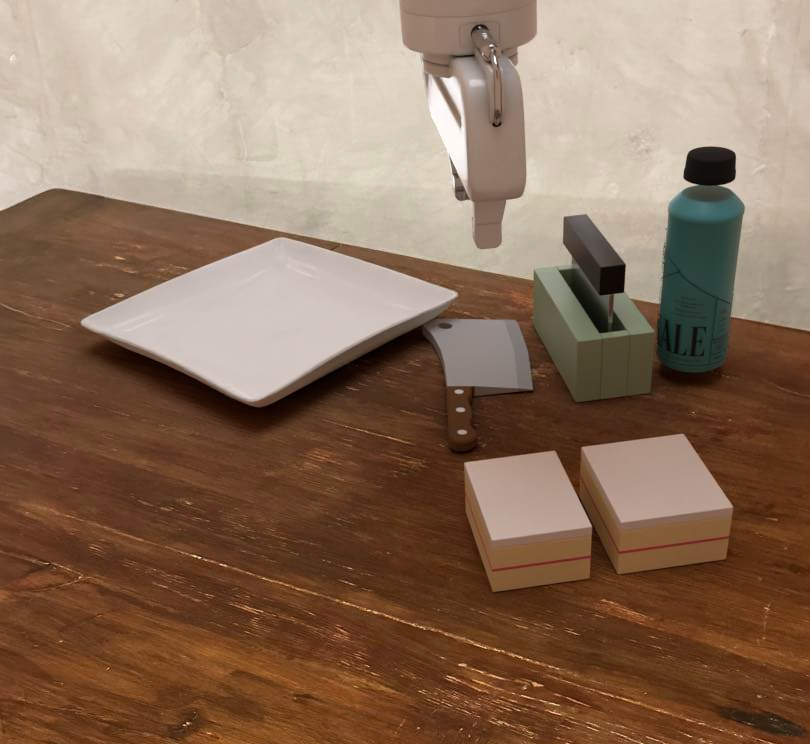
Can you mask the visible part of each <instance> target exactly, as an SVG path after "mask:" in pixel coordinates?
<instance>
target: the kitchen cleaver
mask: <svg viewBox="0 0 810 744" xmlns="http://www.w3.org/2000/svg"><path fill="white" fill-rule="evenodd" d="M421 334H422V335H423V337H424V338H426V340H428V341H429V343H430V344H431V345H432V346H433V348H434V350H435V352H436V354H437V356H438V357H439V359H440V363H441V367H442V370H443V374H444V382H445V389H446V390H445V399H446V417H447V433H448V434H447V435H448V446H449V447H450V448H451V450H453V451H455V452H467V451H470V450H472V449H473V448H475V447H476V446H477V445H478V431H476V430H475V429H474V428H473V427H472V426H473V410H472V408H473V407H472V406H471V403H472V402H473V398H474V397H479V396H480V397H481V396H489V395H498V394H507V393H516V392H529V391H534V385H533V379H532V371H531V370H532V369H531V363H530V356H529V350H528V346H527V344H526V341H525V339H524V335H523V333H522V330H521V328H520V324H519V322H517V320H516V319H491V318H490V319H488V318H487V319H481V318H480V319H479V318H478V319H477V318H476V319H475V318H433V319H431V320H430V321H428V322H426V323H424V324H422V325H421Z"/></svg>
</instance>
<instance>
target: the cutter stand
mask: <svg viewBox="0 0 810 744" xmlns="http://www.w3.org/2000/svg"><path fill="white" fill-rule="evenodd" d="M571 267H572V263H571V264H564V265H557V266H547V267H538V268H534V269H533V297H532V298H533V300H532V305H533V307H532V309H533V310H532V314H533V315H532V320H533V321H532V323H533V324H532V326H533V328H534V329H535V331H536V333H537V335H538V337H539V339H540V340H541V342H542V344H543V345H544V347H545V349H546V351H547V353H548V355H549V357H550V359H551V360H552V363H553V364H554V366H555V367H556V369H557V371H558V373H559V375H560V376H561V378H562V380H563V382H564V384H565V385H566V387H567V389H568V391H569V393H570V394H571V396H572V398H573V400H574V402H575V403H582V402H592V401H597V400H598V401H600V400H608V399H614V398H615V399H616V398H623V397H631V396H638V395H646V394H651V387H652V377H653V364H654V363H653V361H654V350H655V340H656V331H655V330H654V328H653V327H652V326H651V324H650V323H649V321H648V320H647V319H646V318H645V316H644V315H643V313H642V312H641V311H640V309H639V308H638V307H637V305H636V304H635V303H634V301H633V300H632V299H631V298H630V296H629V295H628V293H627V292H626V291H625V290H624V293H618V294H614V304H613V322H612V332H607V333H600V334H599V332H598V331H597V329H596V328H595V326H594V324H593V323H592V321H591V320H590V318H589V317H588V315H587V314H586V312H585V311H584V309H583V308H582V306H581V305H580V303H579V301H578V300H577V298H576V297H575V295H574V294H573V292H572V291H571Z"/></svg>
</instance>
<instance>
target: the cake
mask: <svg viewBox="0 0 810 744" xmlns="http://www.w3.org/2000/svg"><path fill="white" fill-rule="evenodd" d="M579 471H580V472H579V473H580V474H579V496H578V498H580V499H579V500H581V501H580V502H581V504H582V506H583V508H584V510H585V512H586V514H587V516H588V518H589V520H590V522H591V524H592V526H593V527H594V529H595V531H596V533H597V536H598V537H599V539H600V541H601V544H602V546H603V548H604V550H605V552H606V554H607V556H608V558H609V560H610V562H611V564H612V566H613V568H614V570H615V572H616V574H617V575H624V574H632V573H638V572H639V573H640V572H647V571H653V570H659V569H667V568H674V567H681V566H688V565H696V564H702V563H709V562H716V561H724V560H726V559H727V554H728V547H729V541H730V539H731V535H730V533H731V526H732V519H733V512H734V506H733V504H732V503H731V501H730V500H729V499H728V497H727V495H726V494H725V493H724V491H723V490H722V488H721V487H720V485H719V484H718V482H717V481H716V479H715V478H714V476H713V475H712V473H711V472H710V470H709V469H708V467H707V466H706V464H705V463H704V462H703V460H702V459H701V457H700V456H699V454H698V453H697V452H696V450H695V449H694V447H693V445H692V443H691V442H690V441H689V440H688V438H687V436H686V435H685V434H684V433H678V434H670V435H663V436H655V437H648V438H646V437H645V438H640V439H639V438H638V439H632V440H625V441H616V442H610V443H603V444H601V443H600V444H593V445H586V446H581V449H580V470H579Z"/></svg>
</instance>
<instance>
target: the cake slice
mask: <svg viewBox="0 0 810 744" xmlns="http://www.w3.org/2000/svg"><path fill="white" fill-rule="evenodd" d="M463 466H464V467H463V468H464V469H463V471H464V499H465V501H464V503H465V514H466V516H467V520H468V523H469V525H470V529H471V531H472V535H473V537H474V541H475V544H476V546H477V549H478V552H479V557H480V559H481V562H482V565H483V566H484V570H485V573H486V576H487V580H488V582H489V585H490V588H491V591H492V592H493V593H497V592H504V591H512V590H519V589H526V588H532V587H539V586H540V587H541V586H546V585H548V586H549V585H554V584H562V583H567V582H573V581H581V580H589V579H590V577H591V559H592V540H593V539H592V538H593V536H592V535H593V524H592V522H591V520H590V518H589V516H588V514H587V512H586V510H585V508H584V506H583V504H582V502H581V501H580V499H579V496H578V494H577V492H576V491H575V489H574V488H575V487H573V484H572V482H571V480H570V478H569V476H568V474H567V472H566V470H565V468H564V466H563V464H562V462H561V460H560V458H559V455H558V453H557V452H556V450H549V451H541V452H533V453H526V454H519V455H510V456H504V457H503V456H502V457H495V458H489V459H481V460H473V461H466V462H464V463H463Z"/></svg>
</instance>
